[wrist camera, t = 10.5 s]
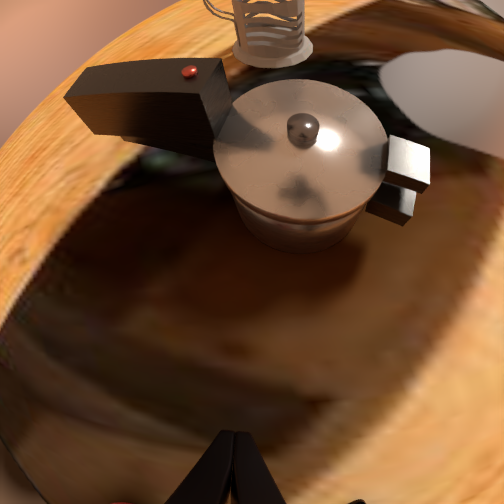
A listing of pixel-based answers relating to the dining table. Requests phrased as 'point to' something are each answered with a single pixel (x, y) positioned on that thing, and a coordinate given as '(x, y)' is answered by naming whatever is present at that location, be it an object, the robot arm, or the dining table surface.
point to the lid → (257, 134)
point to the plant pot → (121, 503)
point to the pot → (301, 236)
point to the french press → (269, 33)
